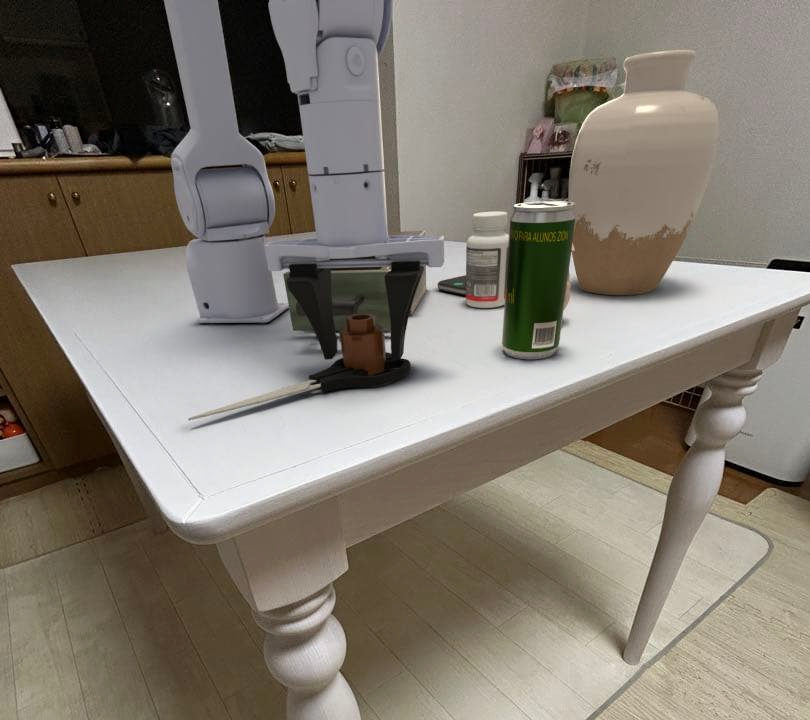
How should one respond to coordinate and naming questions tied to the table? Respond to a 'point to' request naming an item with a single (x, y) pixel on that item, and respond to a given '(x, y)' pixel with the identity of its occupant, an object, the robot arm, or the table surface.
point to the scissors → (328, 382)
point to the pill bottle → (487, 260)
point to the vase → (640, 175)
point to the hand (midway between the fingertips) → (364, 356)
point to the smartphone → (454, 285)
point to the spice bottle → (363, 343)
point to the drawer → (349, 296)
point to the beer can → (537, 277)
